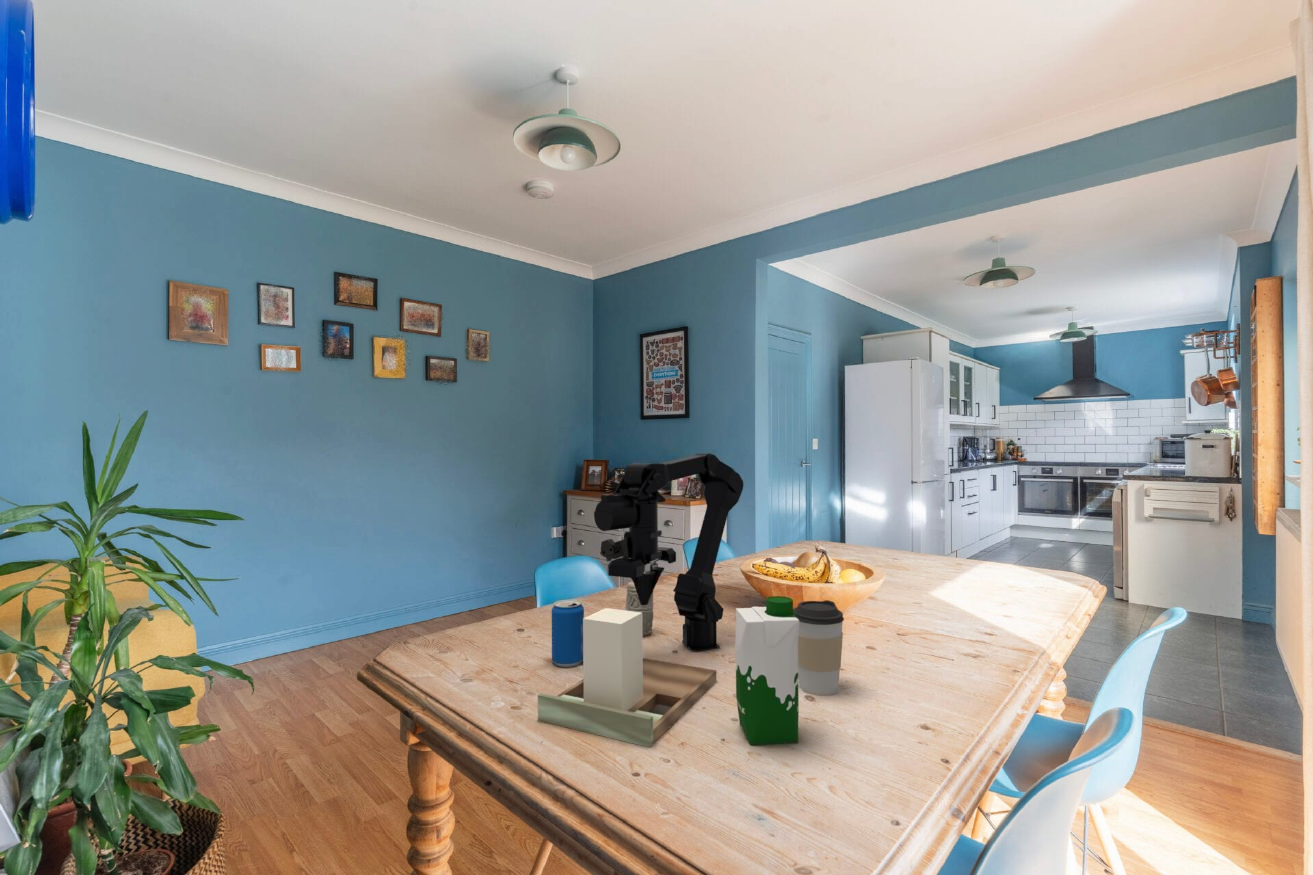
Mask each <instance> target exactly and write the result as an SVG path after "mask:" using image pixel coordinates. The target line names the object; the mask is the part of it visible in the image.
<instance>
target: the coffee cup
mask: <svg viewBox="0 0 1313 875" xmlns="http://www.w3.org/2000/svg"><path fill="white" fill-rule="evenodd" d="M793 612H794V613H795V616H796V617H797V619H799V632H798V688H799V689H800V690H802V691H803V692H804V693H805V692H806V693H808V694H811V695H815V696H833V695H835V694H837V693H838V692H839V690H840V689H839V686H840V685H839V684H840V672H841V666H842V653H843V652H842V650H843V638H844V633H843V621H844V620H845V618H844V615H843V614H844V613H843V612H842V611H841V610H839V608H838V607H837V604H836V603H835V602H834V601H832V600H828V599H825V600H821V601H820V600H807V601H806V600H805V601H801V602H799V603H798V604H797V606H796V607H793Z"/></svg>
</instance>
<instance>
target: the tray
mask: <svg viewBox="0 0 1313 875" xmlns="http://www.w3.org/2000/svg"><path fill="white" fill-rule="evenodd" d="M716 682H717V670H716V669H711V668H706V667H700V666H693V665H687V664H683V663H681V664H680V663H675V662H670V661H669V662H668V661H663V660H657V659H649V658H645V657H643V699H641V700H640V701H639V702H638V703H637V704H635V705H634V706H633V707H632V708H630V709H629V710H628V711H625V710H620V709H615V708H610V707H606V706H601V705H596V704H592V703H587V702H584V678H583V679H581V680H580V681H578V682H576V683H575V684H573V685H572V686H570V687H568V688H567V689H565V690H564V691H562V692H561V693H559V694H558V695H554V694H548V693H544V692H540V693H539V694H537V721H539V722H541V723H546V724H550V723H551V724H552V725H554V726H558V727H564V728H569V729H573V730H577V731H580V732H584V733H589V734H593V735H597V736H601V737H606V738H610V739H614V740H618V741H622V742H626V743H629V744H630V743H631V744H635V745H638V746H643V747H647V748H651V747H652V746H653V745H654V744H655V743H656V742H657V741H658V740H659V739H660V738H661V737H662V736H663V735H664V734H665V733H666V732H667V731H668V730H669V729H670V728H671V727H672V726H673V725H674V724H675V723H676V722H677V721H678V720H679V719H680V718H681V717H682V716H683V715H685V713H686V712H687V711H688V710H689V709H690V708H691V707H692V706H693V705H694V704H695V703H696V702H697V701H698V700H699V699H700V698H701V697H702V696H703V695H704V694H706V692H707V691H708V690H709V689H710V688H711V687H713V685H714V684H716Z"/></svg>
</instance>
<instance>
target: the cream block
mask: <svg viewBox="0 0 1313 875" xmlns="http://www.w3.org/2000/svg"><path fill="white" fill-rule="evenodd" d="M625 610H626V609H624V610H623V609H616V608H611V607H610V608H609V607H605V608H603V609H601V610H599V611H597V612H595V613H593V614H590V615H587V616H585V617H584V618H583V661H582V662H583V663H582V665H583V679H584V702H587V703H592V704H596V705H601V706H606V707H610V708H615V709H620V710H625V711H628V710H629V709H630V708H632V707H633V706H634V705H635V704H637V703H638V702H639V701H640V700H641V699H643V658H644V657H643V656H644V654H643V652H644V651H643V650H644V648H643V646H644V645H643V643H644V642H643V639H644V638H643V637H644V636H643V634H642V613H641V612H633V611H625Z"/></svg>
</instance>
